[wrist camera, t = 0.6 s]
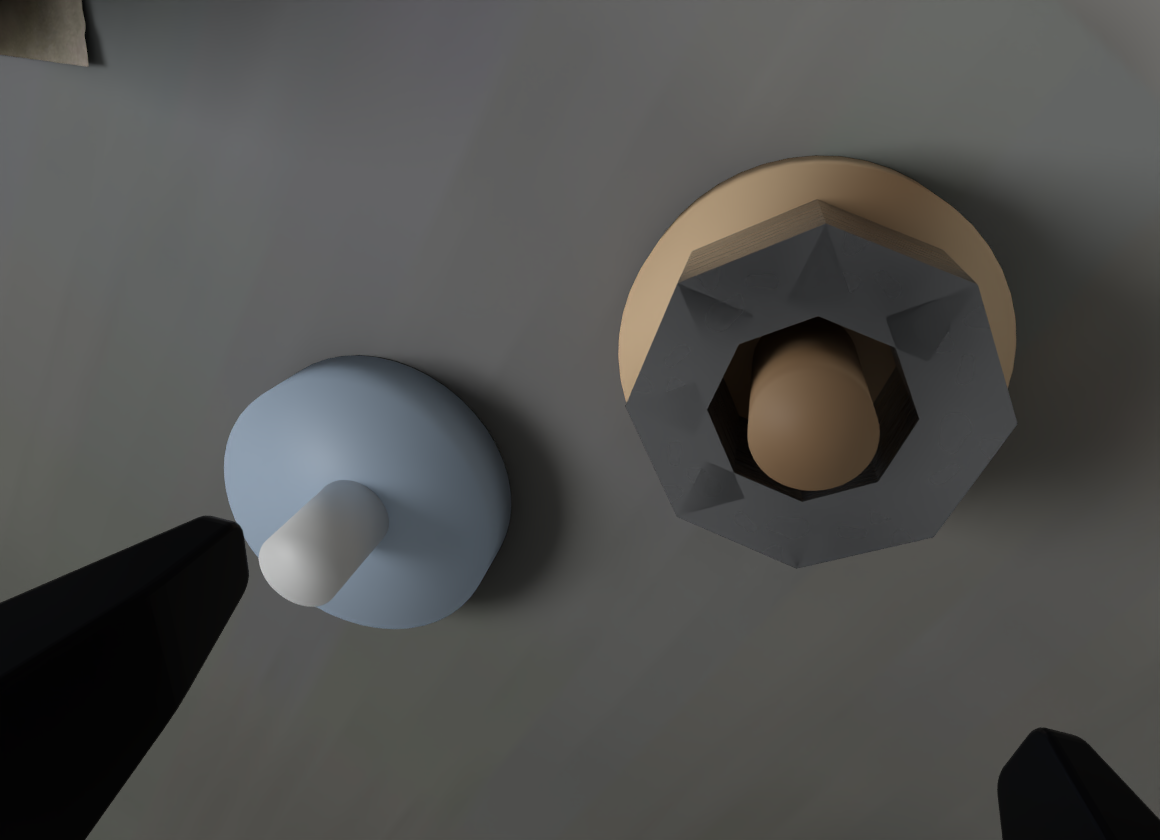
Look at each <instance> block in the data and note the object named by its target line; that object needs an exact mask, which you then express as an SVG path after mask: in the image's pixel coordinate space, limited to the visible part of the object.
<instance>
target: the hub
mask: <svg viewBox="0 0 1160 840" xmlns="http://www.w3.org/2000/svg"><path fill="white" fill-rule="evenodd" d="M224 477H225V487H226V491H227V496H228V500H229V504H230V507H231V510H232V512H233V515H234V518H235V520H236V522H237V523H238V524H239V525H240V526H241V528H242V530H243V534H244V538H245V539H246V541H247V542H248V544H249V546H250V547H251V549H252V550H253V551H254V553H255V554H256V555H257V557H258V558H259V564H260V568H261V571H262V573H263V575H264V577H265V579H266V580H267V582H268V583H269V584H270V586H271V587H272V588H273V589H274V590H275V591H276V592H277V593H279V594H280V595H281V596H283V597H284V598H286V599H287V600H289V601H291V602H294V603H296V604H299V605H303V606H310V607H314V606H315V607H317V608H319V609H321V610H323V611H325V612H327V613H329V614H331V615H333V616H336V617H338V618H341V619H343V620H346V621H349V622H353V623H356V624H360V625H364V626H370V627H375V628H385V629H406V628H414V627H419V626H424V625H427V624H430V623H433V622H436V621H439V620H441V619H443V618H445V617H447V616H449V615H450V614H452V613H453V612H455V611H456V610H457V609H459V608H460V607H461V606H462V605H463V604H464V603H465V602H466V601H467V600H468V599H469V598H470V597H471V596H472V595H473V593H474V592H475V590H476V589H477V587H478V586H479V584H480V582H481V581H482V579H483V577H484V576H485V574H486V572H487V570H488V569H489V567H490V565H491V563H492V562H493V560H494V558H495V556H496V555H497V553H498V551H499V549H500V548H501V545H502V543H503V541H504V539H505V537H506V534H507V530H508V526H509V523H510V515H511V490H510V485H509V479H508V475H507V471H506V468H505V465H504V462H503V459H502V457H501V455H500V453H499V450H498V448H497V446H496V444H495V442H494V440H493V439H492V437H491V436H490V434H489V432H488V431H487V429H486V427H485V426H484V425H483V424H482V422H481V421H480V420H479V419H478V417H477V416H476V415H475V413H474V412H473V411H472V410H471V409H470V408H469V407H468V406H467V405H466V404H465V403H464V402H463V401H462V400H461V399H460V398H459V397H457V396H456V395H455V394H454V393H453V392H451V391H450V390H449V389H448V388H446V387H445V386H444V385H442V384H441V383H439V382H437V381H436V380H434V379H433V378H431V377H430V376H428V375H426V374H424V373H422V372H420V371H418V370H416V369H414V368H412V367H409V366H406V365H404V364H401V363H398V362H395V361H391V360H387V359H383V358H378V357H370V356H360V355H358V356H340V357H335V358H330V359H326V360H323V361H320V362H317V363H314V364H312V365H310V366H308V367H306V368H305V369H303V370H301V371H299V372H298V373H296V374H294V375H293V376H291V377H290V378H288V379H286V380H285V381H283V382H281V383H280V384H278V385H277V386H275V387H273V388H272V389H270V390H269V391H267V392H265V393H264V394H262V395H261V396H259V397H258V398H257V399H256V400H255V401H253V402H252V403H251V404H250V405H249V406H248V407H247V408H246V409H245V410H244V412H243V413H242V414H241V415H240V416H239V418H238V420H237V421H236V423H235V425H234V427H233V428H232V431H231V434H230V436H229V439H228V442H227V447H226V452H225V459H224Z"/></svg>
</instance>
